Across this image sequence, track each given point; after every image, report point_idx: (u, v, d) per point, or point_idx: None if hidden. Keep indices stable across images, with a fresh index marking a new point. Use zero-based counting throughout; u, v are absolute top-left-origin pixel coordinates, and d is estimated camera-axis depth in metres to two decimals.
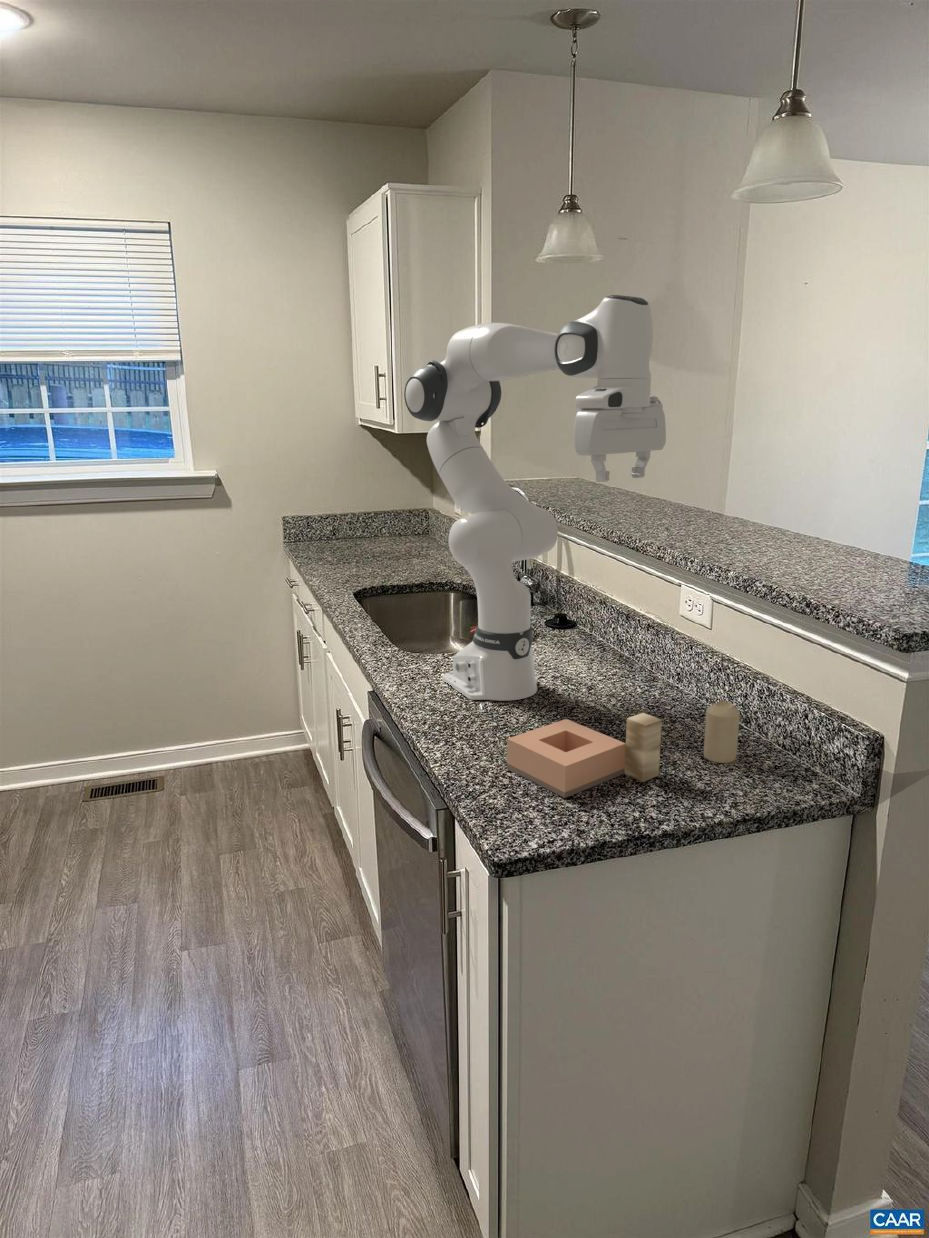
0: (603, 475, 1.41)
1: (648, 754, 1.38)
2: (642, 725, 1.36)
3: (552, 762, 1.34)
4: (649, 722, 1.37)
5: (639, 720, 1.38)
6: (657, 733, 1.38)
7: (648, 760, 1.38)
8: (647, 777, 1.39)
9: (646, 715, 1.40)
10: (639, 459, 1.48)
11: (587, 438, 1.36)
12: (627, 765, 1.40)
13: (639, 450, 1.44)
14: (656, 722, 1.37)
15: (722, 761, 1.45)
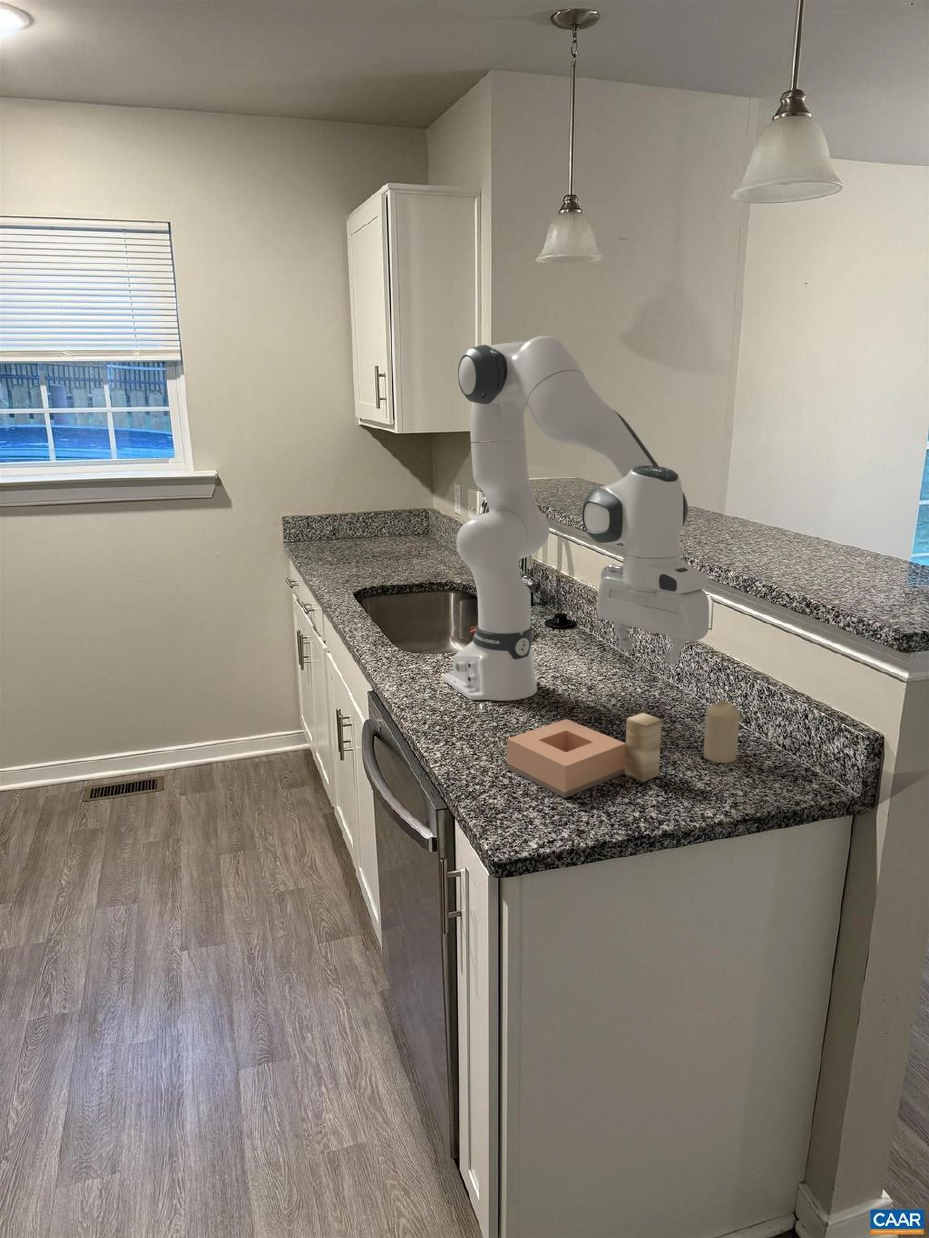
0: (678, 655, 1.31)
1: (648, 754, 1.38)
2: (642, 724, 1.36)
3: (552, 762, 1.34)
4: (649, 722, 1.37)
5: (639, 720, 1.38)
6: (657, 733, 1.38)
7: (648, 760, 1.38)
8: (647, 777, 1.39)
9: (646, 715, 1.40)
10: (620, 630, 1.39)
11: (706, 621, 1.27)
12: (627, 765, 1.40)
13: None
14: (656, 722, 1.37)
15: (722, 761, 1.45)
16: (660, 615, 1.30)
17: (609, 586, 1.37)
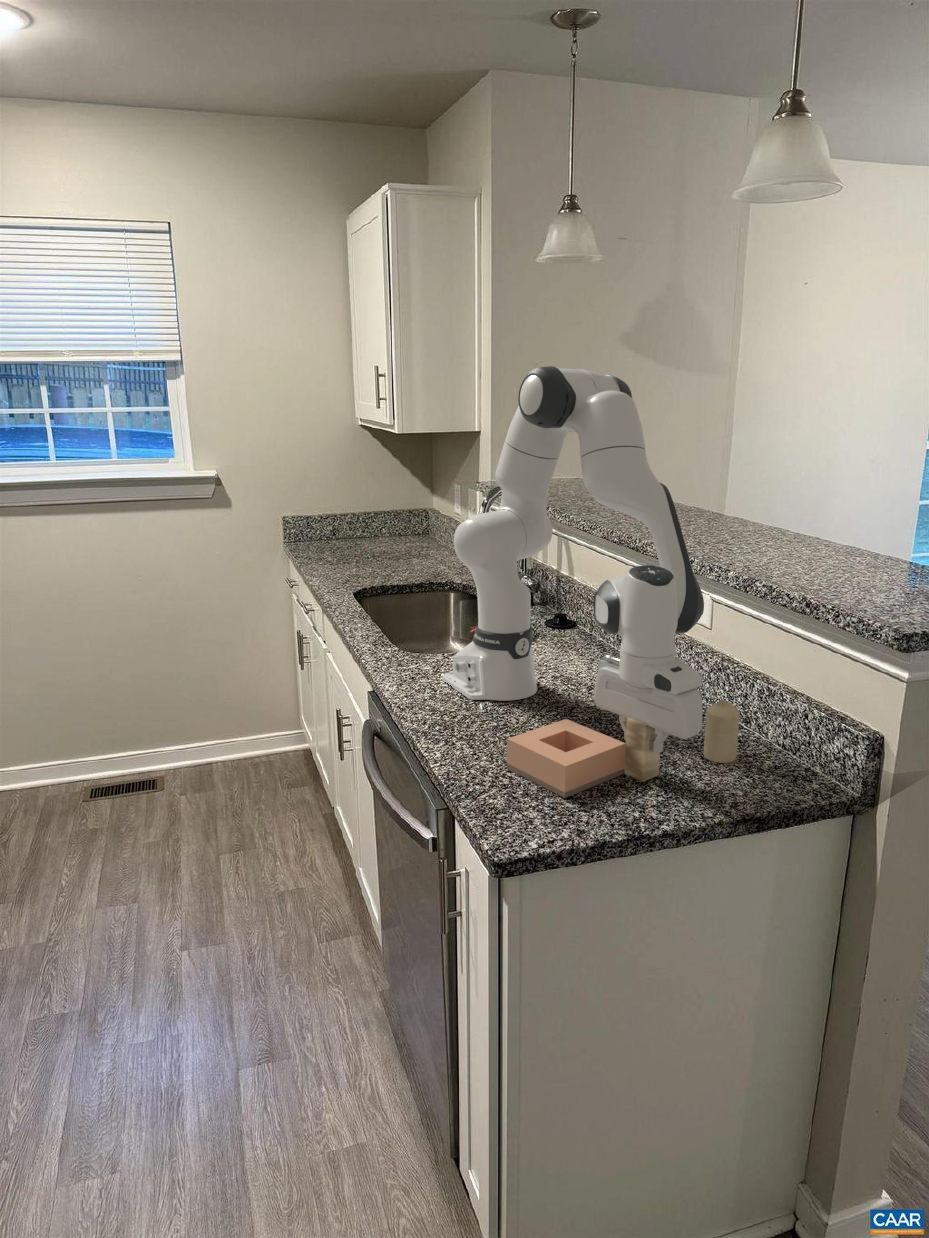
0: (662, 745, 1.37)
1: (648, 754, 1.38)
2: (642, 724, 1.36)
3: (552, 762, 1.34)
4: None
5: None
6: None
7: (648, 760, 1.38)
8: (647, 777, 1.39)
9: None
10: (625, 722, 1.41)
11: (699, 720, 1.31)
12: (627, 765, 1.40)
13: None
14: None
15: (722, 761, 1.45)
16: (654, 711, 1.34)
17: (606, 677, 1.41)
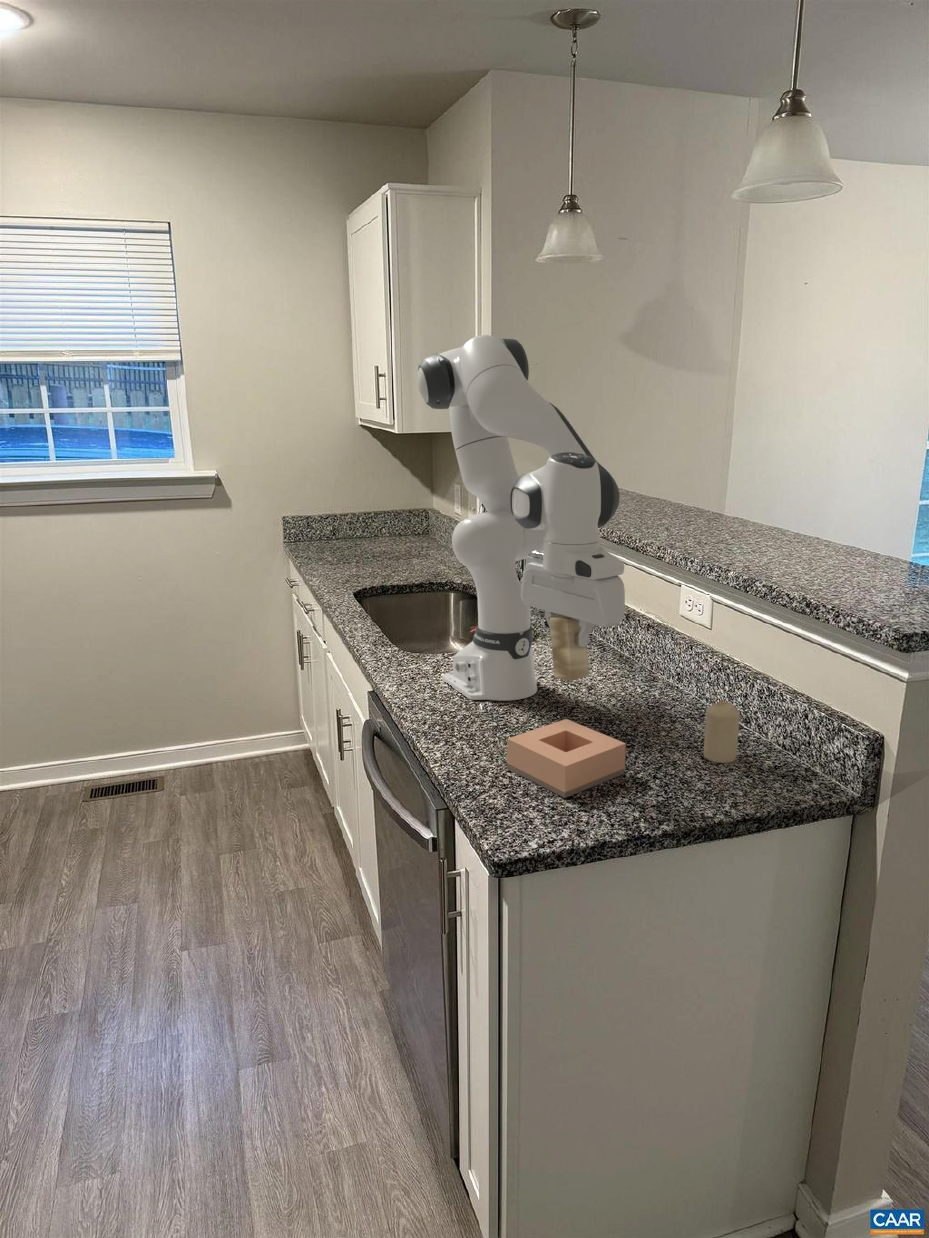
0: (588, 638, 1.34)
1: (573, 651, 1.34)
2: (564, 620, 1.34)
3: (552, 762, 1.34)
4: (571, 618, 1.34)
5: (562, 618, 1.35)
6: None
7: (574, 657, 1.35)
8: (576, 676, 1.35)
9: None
10: None
11: (622, 608, 1.28)
12: (556, 667, 1.37)
13: None
14: None
15: (722, 761, 1.45)
16: (577, 601, 1.31)
17: (532, 572, 1.38)
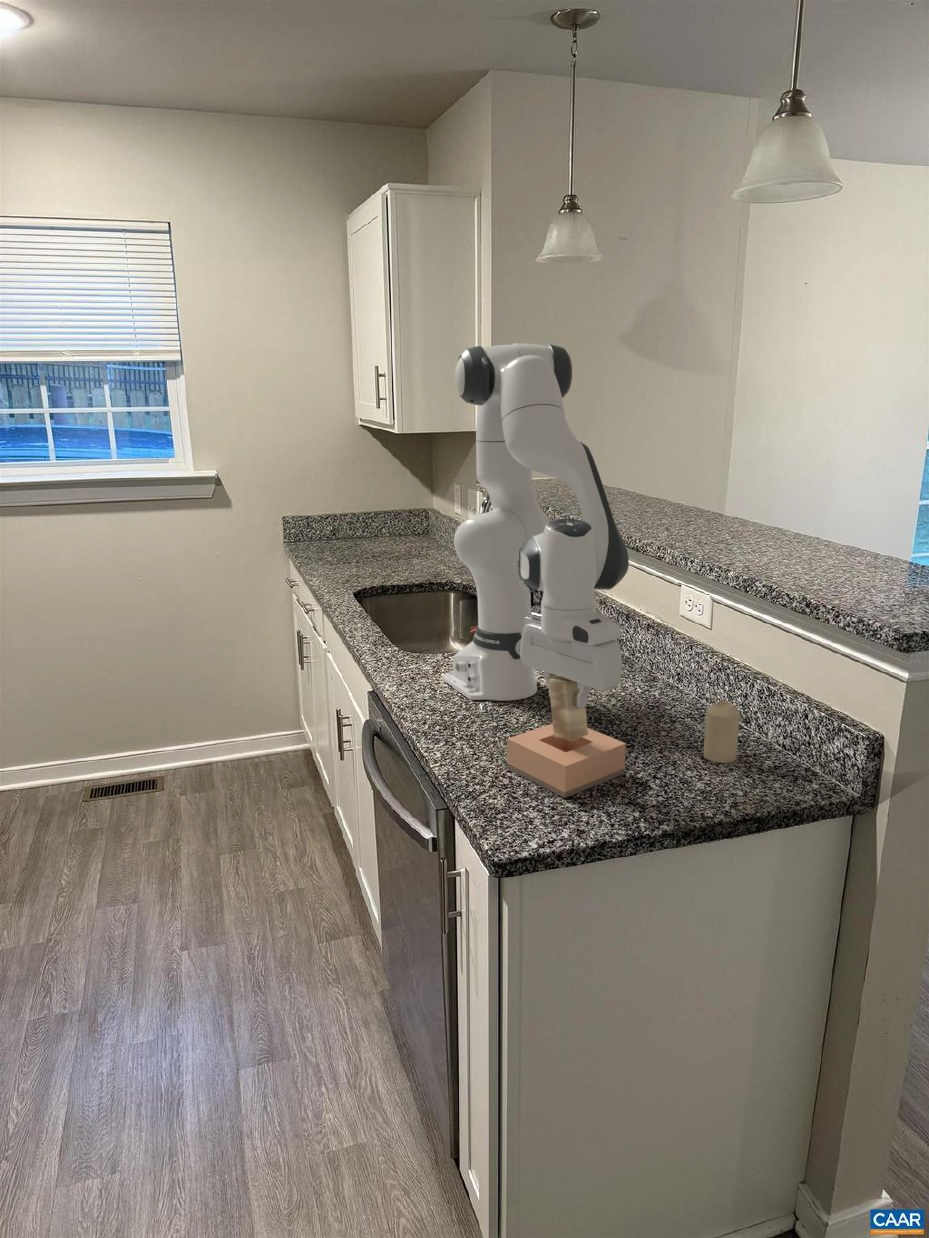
0: (586, 699, 1.37)
1: (572, 712, 1.37)
2: (562, 682, 1.36)
3: (552, 762, 1.34)
4: None
5: (560, 679, 1.38)
6: None
7: (573, 718, 1.37)
8: (575, 736, 1.38)
9: None
10: None
11: (619, 671, 1.30)
12: (555, 727, 1.40)
13: None
14: None
15: (722, 761, 1.45)
16: (575, 664, 1.33)
17: (530, 633, 1.41)
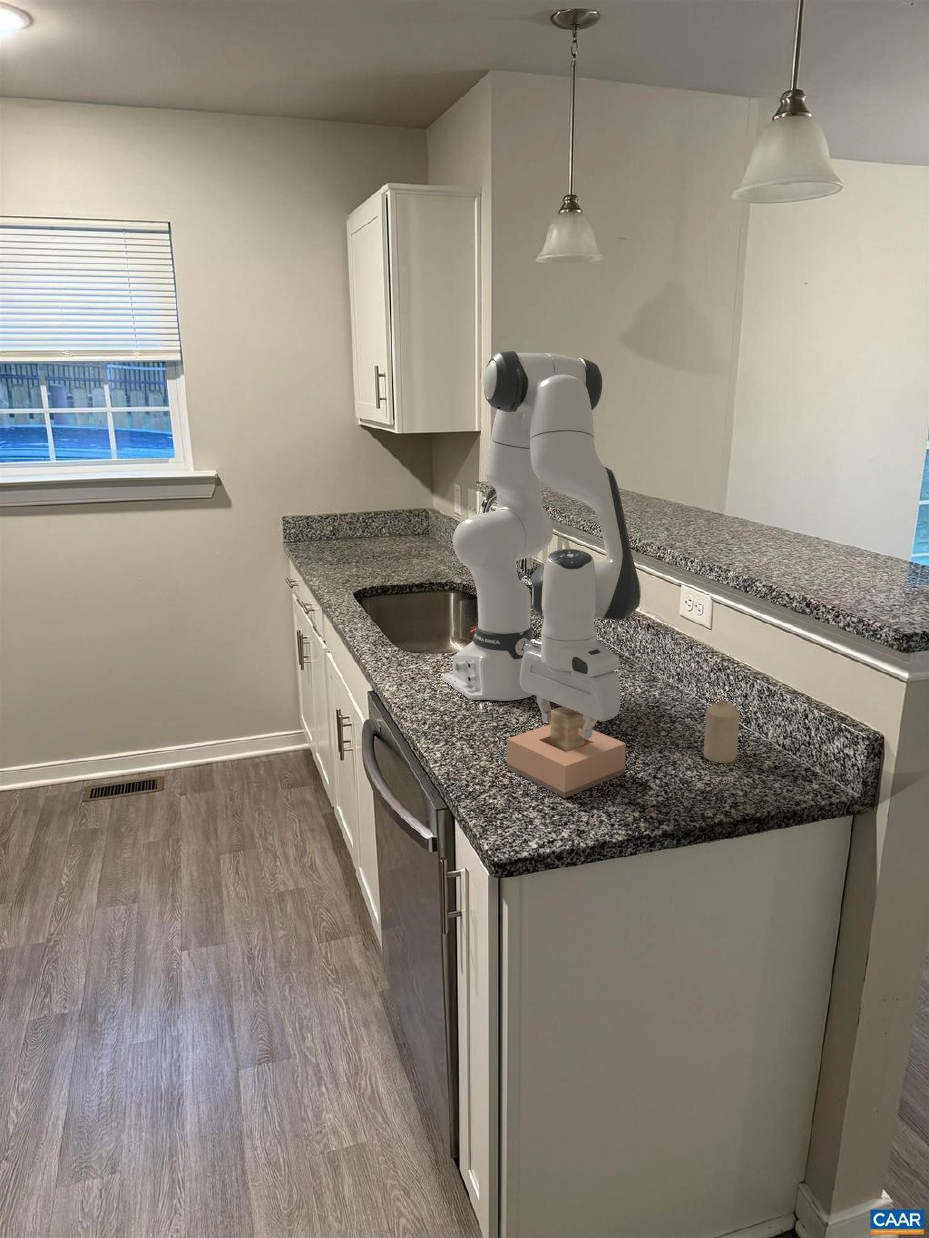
0: (591, 731, 1.37)
1: (571, 745, 1.39)
2: (564, 716, 1.37)
3: (552, 762, 1.34)
4: (572, 714, 1.38)
5: (563, 712, 1.39)
6: (580, 724, 1.39)
7: None
8: None
9: None
10: (542, 703, 1.43)
11: (617, 702, 1.32)
12: None
13: None
14: (579, 714, 1.38)
15: (722, 761, 1.45)
16: (574, 694, 1.35)
17: (530, 661, 1.42)
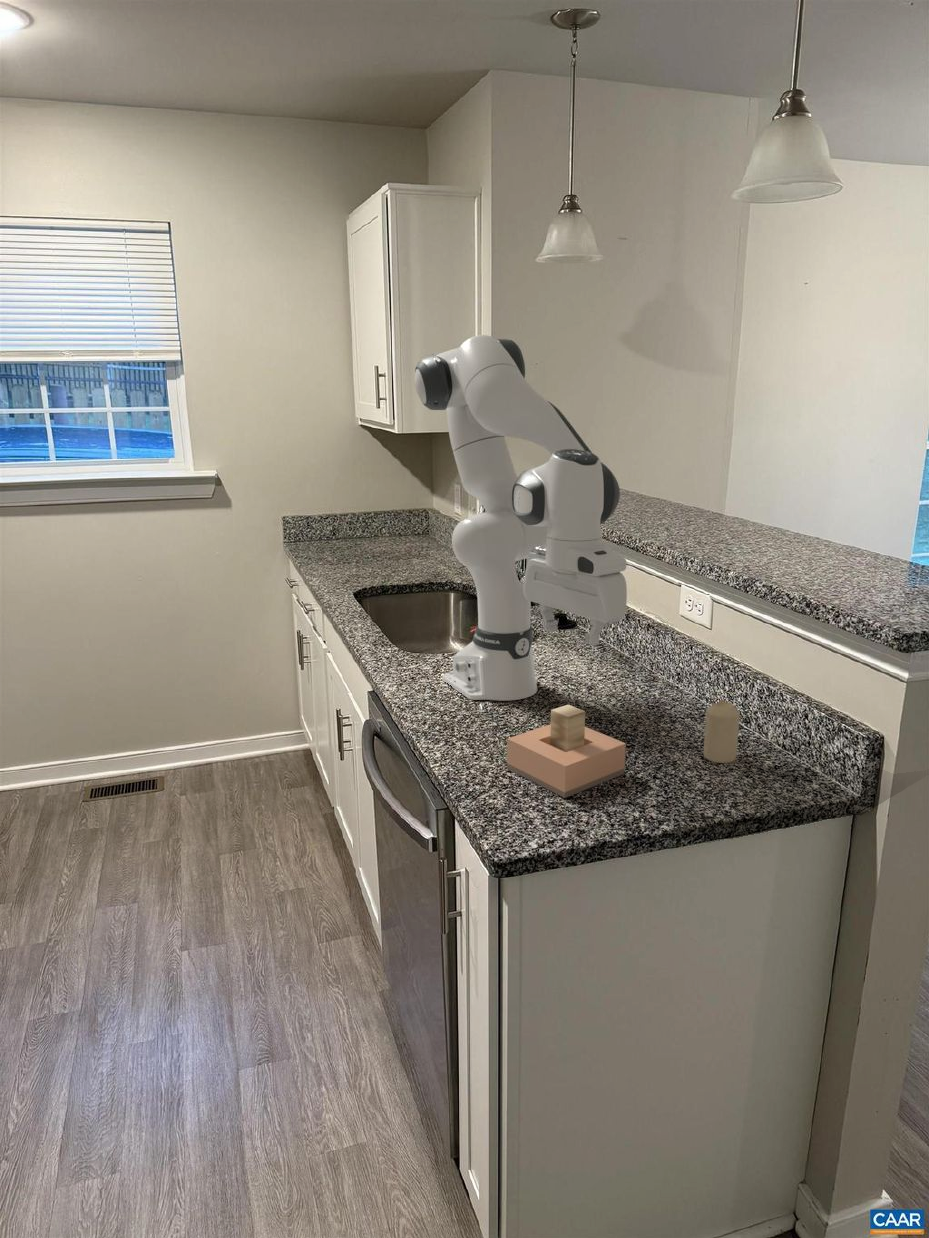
0: (598, 637, 1.33)
1: (571, 745, 1.39)
2: (564, 716, 1.37)
3: (552, 762, 1.34)
4: (572, 714, 1.38)
5: (563, 712, 1.39)
6: (580, 724, 1.39)
7: None
8: None
9: (570, 706, 1.41)
10: (545, 612, 1.40)
11: (623, 604, 1.29)
12: None
13: None
14: (579, 714, 1.38)
15: (722, 761, 1.45)
16: (579, 597, 1.32)
17: (534, 568, 1.39)
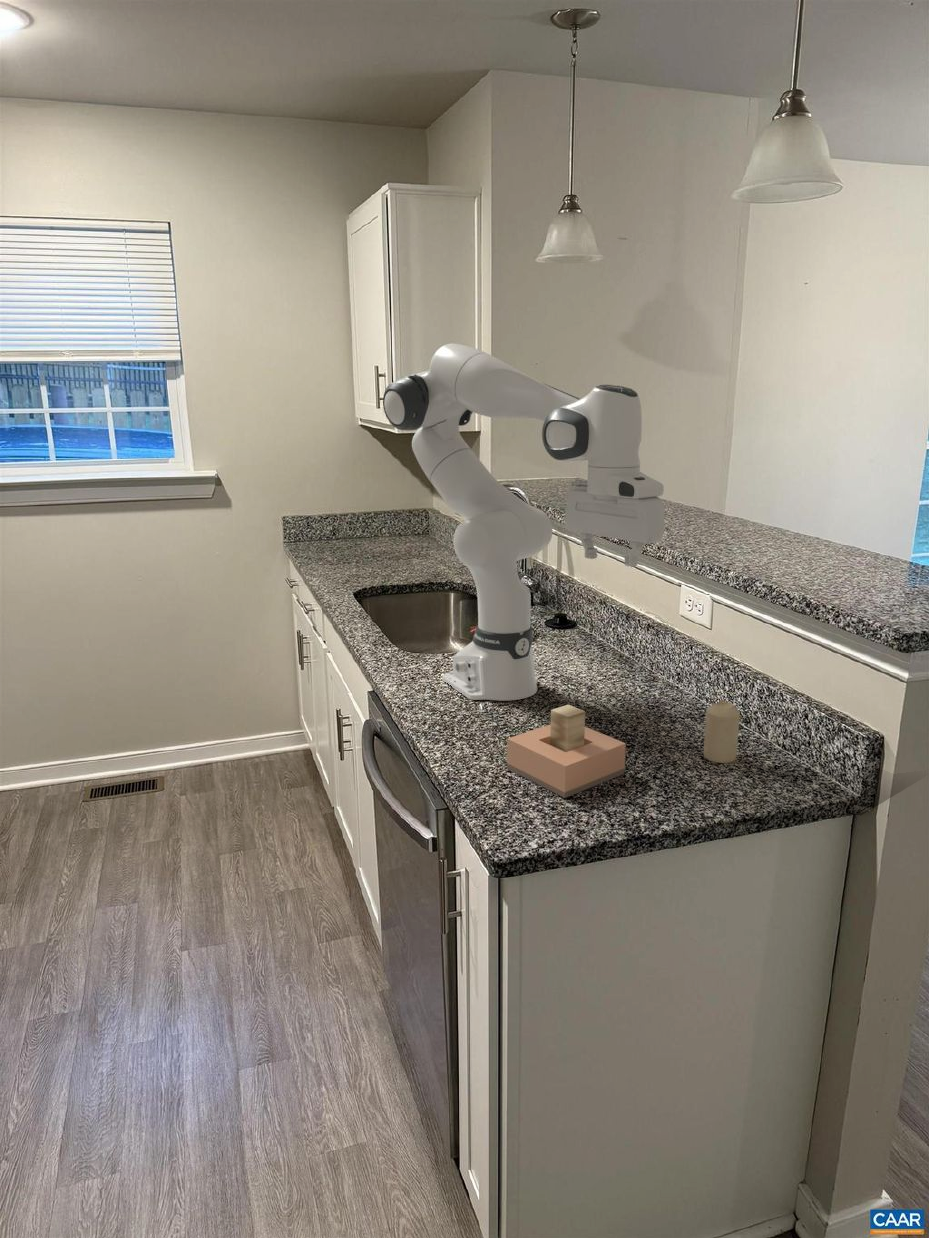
0: (637, 559, 1.44)
1: (571, 745, 1.39)
2: (564, 716, 1.37)
3: (552, 762, 1.34)
4: (572, 714, 1.38)
5: (563, 712, 1.39)
6: (580, 724, 1.39)
7: None
8: None
9: (570, 706, 1.41)
10: (585, 540, 1.51)
11: (661, 525, 1.39)
12: None
13: None
14: (579, 714, 1.38)
15: (722, 761, 1.45)
16: (620, 521, 1.42)
17: (575, 498, 1.49)
